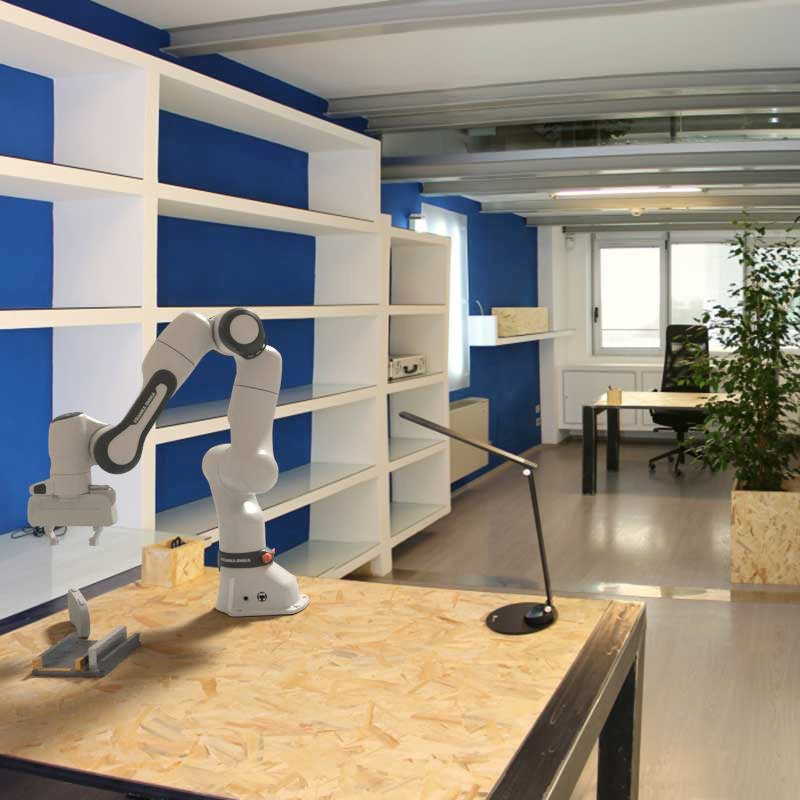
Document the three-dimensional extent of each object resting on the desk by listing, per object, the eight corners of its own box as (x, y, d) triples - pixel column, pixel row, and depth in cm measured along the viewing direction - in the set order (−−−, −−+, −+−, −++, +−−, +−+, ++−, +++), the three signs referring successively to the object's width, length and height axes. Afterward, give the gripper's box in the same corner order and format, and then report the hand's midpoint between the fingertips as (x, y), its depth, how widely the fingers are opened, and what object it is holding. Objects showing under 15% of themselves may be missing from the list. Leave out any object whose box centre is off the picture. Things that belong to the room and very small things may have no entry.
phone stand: (141, 645, 220) (139, 622, 220) (103, 677, 201) (102, 652, 201) (75, 644, 222) (73, 621, 222) (32, 675, 203) (30, 650, 203)
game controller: (92, 640, 225) (90, 603, 224) (81, 642, 224) (79, 605, 223) (78, 618, 242) (76, 583, 242) (68, 619, 241) (66, 585, 241)
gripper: (120, 482, 232) (123, 542, 233) (36, 482, 235) (39, 541, 236) (109, 487, 226) (112, 548, 227) (22, 487, 228) (25, 548, 230)
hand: (74, 545), depth 231 cm, fingers open, 8 cm apart
